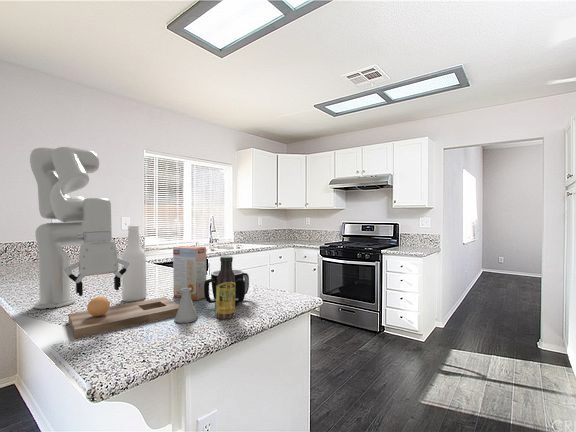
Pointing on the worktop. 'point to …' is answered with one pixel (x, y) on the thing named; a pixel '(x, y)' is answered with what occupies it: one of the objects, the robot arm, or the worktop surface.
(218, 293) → the sauce bottle
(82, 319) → the board
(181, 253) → the cracker box
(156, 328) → the worktop surface
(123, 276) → the alcohol
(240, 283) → the mug
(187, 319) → the flask
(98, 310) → the orange ball
